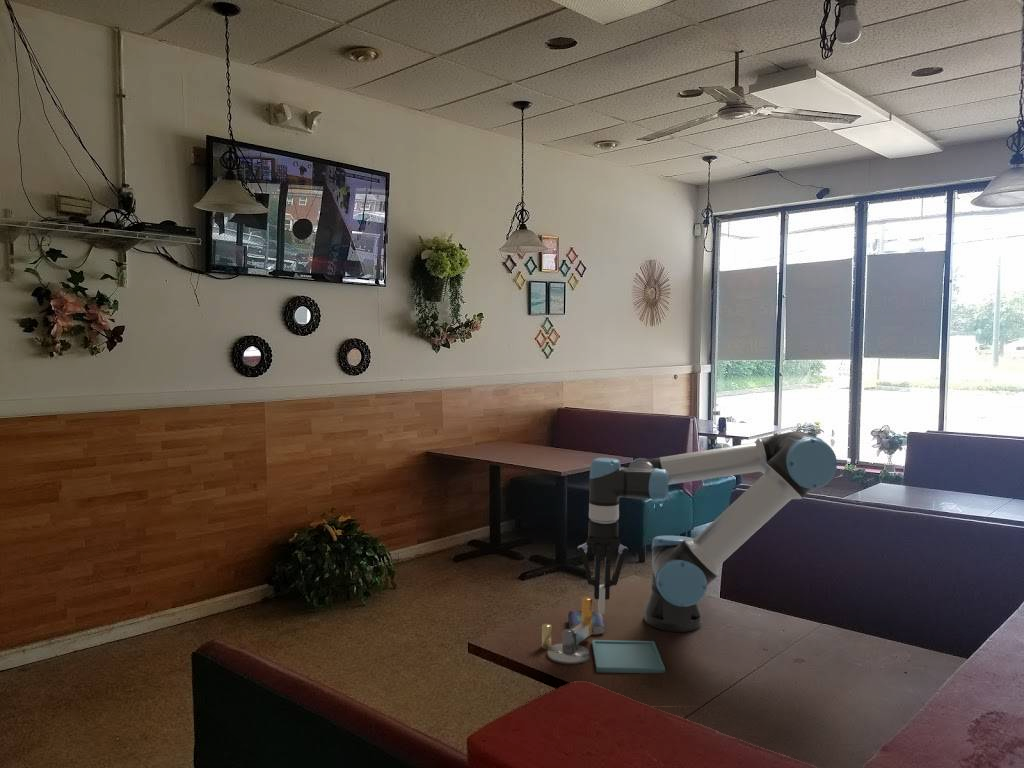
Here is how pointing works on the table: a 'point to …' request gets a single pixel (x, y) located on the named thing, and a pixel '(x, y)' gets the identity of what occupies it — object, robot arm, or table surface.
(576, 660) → the crank base
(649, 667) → the tray
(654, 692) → the table surface
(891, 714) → the table surface
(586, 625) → the crank
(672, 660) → the table surface
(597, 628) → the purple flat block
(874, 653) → the table surface
